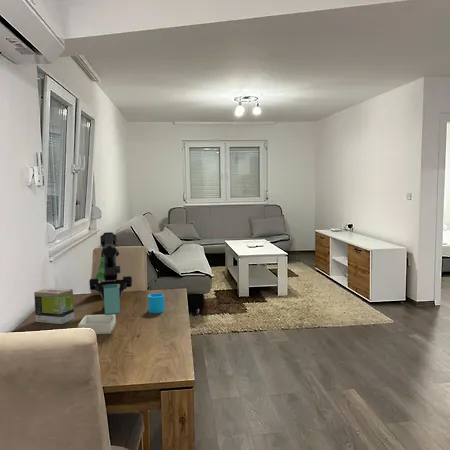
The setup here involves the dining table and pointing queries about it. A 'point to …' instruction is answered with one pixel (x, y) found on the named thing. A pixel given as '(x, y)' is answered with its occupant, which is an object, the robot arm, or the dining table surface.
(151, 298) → the mug
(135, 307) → the dining table surface
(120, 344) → the dining table surface
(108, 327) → the white crate
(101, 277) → the decorative tree
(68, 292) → the tea box
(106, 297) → the teal crate
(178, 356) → the dining table surface
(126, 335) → the dining table surface
